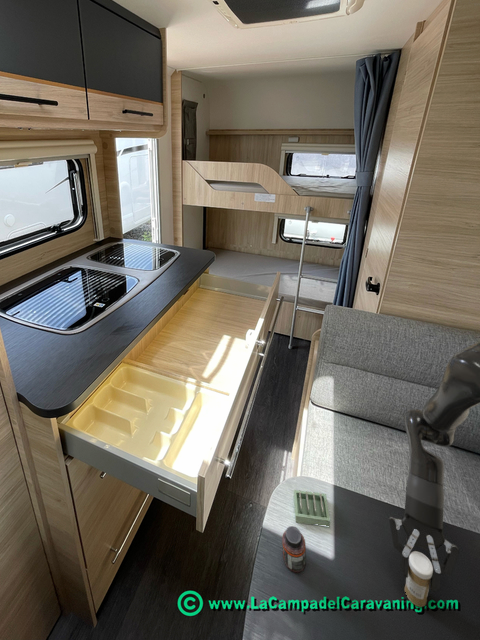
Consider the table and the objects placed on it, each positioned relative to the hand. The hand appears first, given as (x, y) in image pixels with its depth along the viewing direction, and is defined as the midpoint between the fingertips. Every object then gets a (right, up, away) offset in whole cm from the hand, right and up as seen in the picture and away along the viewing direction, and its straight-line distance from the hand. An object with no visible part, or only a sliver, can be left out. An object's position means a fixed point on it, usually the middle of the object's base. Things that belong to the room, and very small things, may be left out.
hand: (419, 582), depth 74 cm
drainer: (-16, -3, +24) cm, 29 cm away
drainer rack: (-16, -3, +24) cm, 29 cm away
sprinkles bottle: (+2, -8, +5) cm, 9 cm away
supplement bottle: (-24, -8, +14) cm, 29 cm away
